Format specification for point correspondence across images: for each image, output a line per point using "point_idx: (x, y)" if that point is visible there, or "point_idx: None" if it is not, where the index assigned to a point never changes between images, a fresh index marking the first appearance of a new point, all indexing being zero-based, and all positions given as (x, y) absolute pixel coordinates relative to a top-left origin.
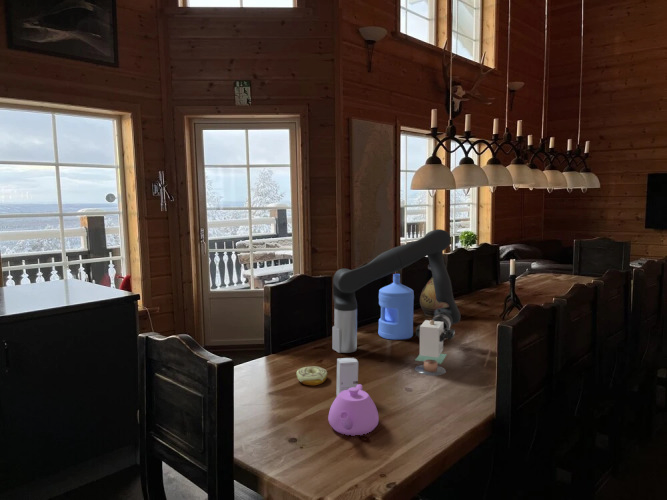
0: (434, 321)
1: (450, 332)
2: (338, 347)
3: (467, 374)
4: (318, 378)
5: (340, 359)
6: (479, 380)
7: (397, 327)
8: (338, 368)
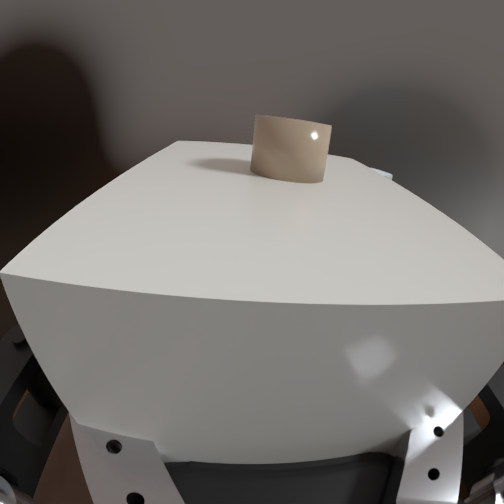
0: (329, 260)
1: (10, 341)
2: None
3: (51, 454)
4: None
5: (384, 172)
6: (23, 394)
7: None
8: None
